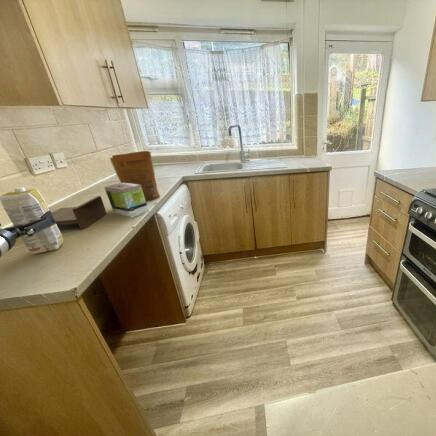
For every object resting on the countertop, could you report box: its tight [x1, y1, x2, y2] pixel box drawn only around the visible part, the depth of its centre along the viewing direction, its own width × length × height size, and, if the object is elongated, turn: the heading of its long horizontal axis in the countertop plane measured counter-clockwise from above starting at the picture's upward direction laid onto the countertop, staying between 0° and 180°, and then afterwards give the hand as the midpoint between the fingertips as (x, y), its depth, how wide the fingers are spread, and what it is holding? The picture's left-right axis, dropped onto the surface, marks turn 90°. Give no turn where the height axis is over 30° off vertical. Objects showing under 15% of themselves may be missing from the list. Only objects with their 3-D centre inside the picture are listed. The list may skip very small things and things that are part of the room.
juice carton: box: [0, 186, 64, 255], centre depth 89 cm, size 9×8×24 cm
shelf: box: [51, 195, 108, 231], centre depth 114 cm, size 20×18×10 cm
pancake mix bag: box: [109, 150, 161, 202], centre depth 138 cm, size 7×19×28 cm, turn 116°
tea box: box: [104, 182, 149, 219], centre depth 123 cm, size 15×10×15 cm, turn 63°
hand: (25, 217), depth 84 cm, fingers open, 13 cm apart
